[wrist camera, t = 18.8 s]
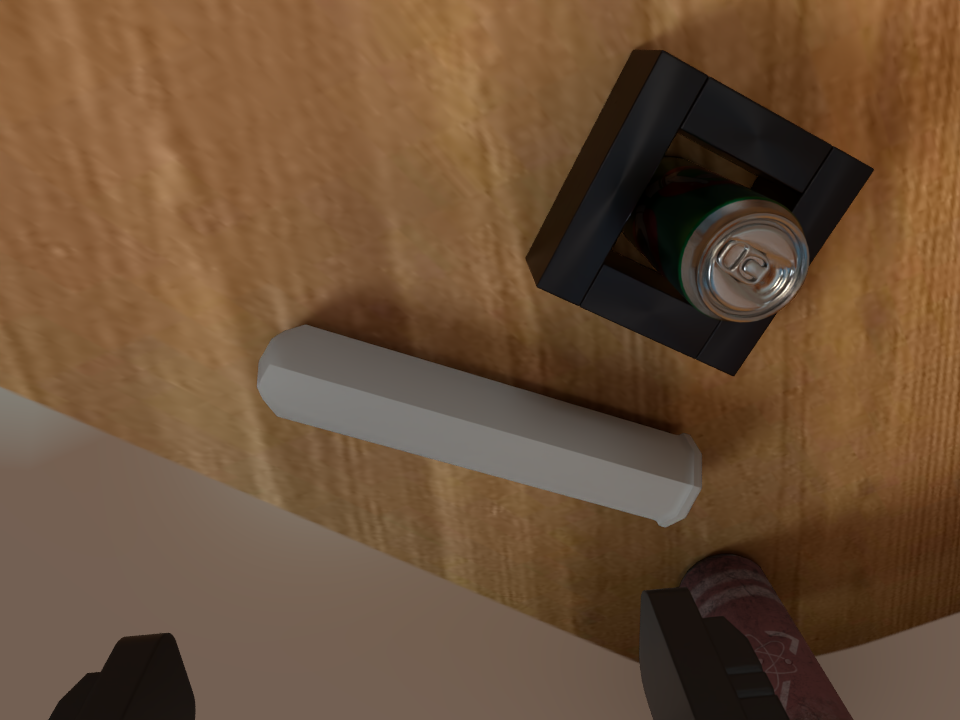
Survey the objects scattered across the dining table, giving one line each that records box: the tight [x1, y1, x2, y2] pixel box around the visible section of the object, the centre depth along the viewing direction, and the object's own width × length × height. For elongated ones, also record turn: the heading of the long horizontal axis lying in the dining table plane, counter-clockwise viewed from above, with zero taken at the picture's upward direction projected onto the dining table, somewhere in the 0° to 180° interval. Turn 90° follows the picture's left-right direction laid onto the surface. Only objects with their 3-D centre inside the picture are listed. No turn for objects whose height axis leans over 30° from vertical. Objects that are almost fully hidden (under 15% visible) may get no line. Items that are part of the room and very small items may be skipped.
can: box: [680, 554, 853, 720], centre depth 42 cm, size 6×6×14 cm
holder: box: [526, 50, 874, 376], centre depth 35 cm, size 12×12×5 cm
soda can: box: [622, 157, 809, 322], centre depth 32 cm, size 5×5×12 cm
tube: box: [257, 325, 702, 527], centre depth 40 cm, size 5×5×25 cm
